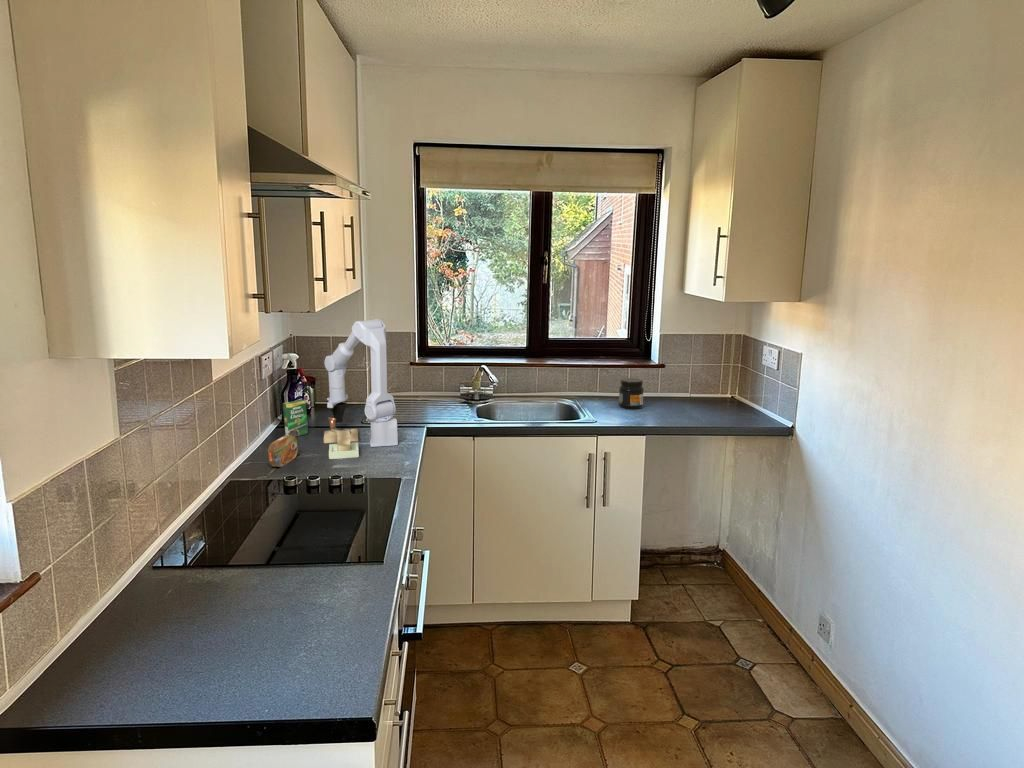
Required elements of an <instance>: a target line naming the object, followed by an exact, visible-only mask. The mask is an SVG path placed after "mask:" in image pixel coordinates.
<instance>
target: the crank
mask: <svg viewBox="0 0 1024 768" xmlns="http://www.w3.org/2000/svg"><path fill="white" fill-rule="evenodd" d="M327 420H328V421H329V430H331V431H333V432H336V431H347V430H349V433H350V434H351V429H352V428H344V429H343V428H338V427H336V422H335V421H336V418H334V417H330V416H329V417H328V418H327Z"/></svg>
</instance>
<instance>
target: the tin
mask: <svg viewBox="0 0 1024 768" xmlns="http://www.w3.org/2000/svg"><path fill="white" fill-rule="evenodd" d="M298 453H299V442H298V438H297V436H296V437H295V436H294V435H285V434H284V435H283V436H281V437H279V438H278V439H276V440H274V441H272V442H271V443H270V444H269V446H268V449H267V457H268V462H269V465H270V466H272V467H275V468H277V467H279V468H282V466H283V467H284V466H286V465H287V464H288V463H291V462H292V461H293V460H295V459H296V458H297V457H298V456H297V455H298Z"/></svg>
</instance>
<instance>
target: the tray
mask: <svg viewBox="0 0 1024 768" xmlns="http://www.w3.org/2000/svg"><path fill="white" fill-rule="evenodd" d="M328 444H329V445H328V446H329V448H328V459H329V460H334V459H335V460H336V459H339V460H340V459H351V458H352V459H353V458H359V457H360V454H359V453H360V452H359V450H360V449H359V442H350V449H351V451H338V450H337V443H328Z"/></svg>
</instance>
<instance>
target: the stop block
mask: <svg viewBox="0 0 1024 768" xmlns="http://www.w3.org/2000/svg"><path fill="white" fill-rule="evenodd" d="M336 432H337V442H336V444H337V450H338V451H351V449H350V443H351V442H350V433H349V430H347V431H336Z"/></svg>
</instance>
